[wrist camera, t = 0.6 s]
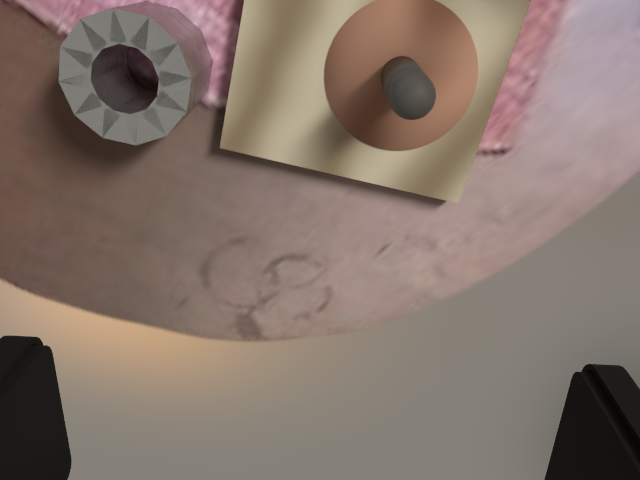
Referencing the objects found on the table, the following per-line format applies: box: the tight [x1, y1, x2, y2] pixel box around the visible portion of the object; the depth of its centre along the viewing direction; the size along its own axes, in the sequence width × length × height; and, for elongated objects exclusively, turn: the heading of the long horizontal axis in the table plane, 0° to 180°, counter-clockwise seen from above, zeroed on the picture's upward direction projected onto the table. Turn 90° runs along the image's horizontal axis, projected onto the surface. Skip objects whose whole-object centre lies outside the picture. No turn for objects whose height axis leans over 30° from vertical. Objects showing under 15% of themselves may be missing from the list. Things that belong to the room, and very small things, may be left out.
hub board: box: [220, 0, 531, 203], centre depth 33 cm, size 16×14×9 cm
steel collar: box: [59, 1, 213, 145], centre depth 35 cm, size 7×7×6 cm
